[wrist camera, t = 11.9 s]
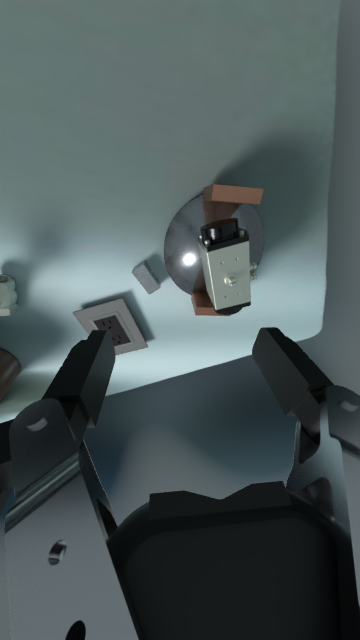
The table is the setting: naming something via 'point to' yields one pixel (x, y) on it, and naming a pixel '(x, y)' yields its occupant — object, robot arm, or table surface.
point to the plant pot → (7, 371)
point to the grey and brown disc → (186, 230)
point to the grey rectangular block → (146, 277)
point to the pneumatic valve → (226, 265)
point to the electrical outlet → (113, 324)
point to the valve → (7, 296)
